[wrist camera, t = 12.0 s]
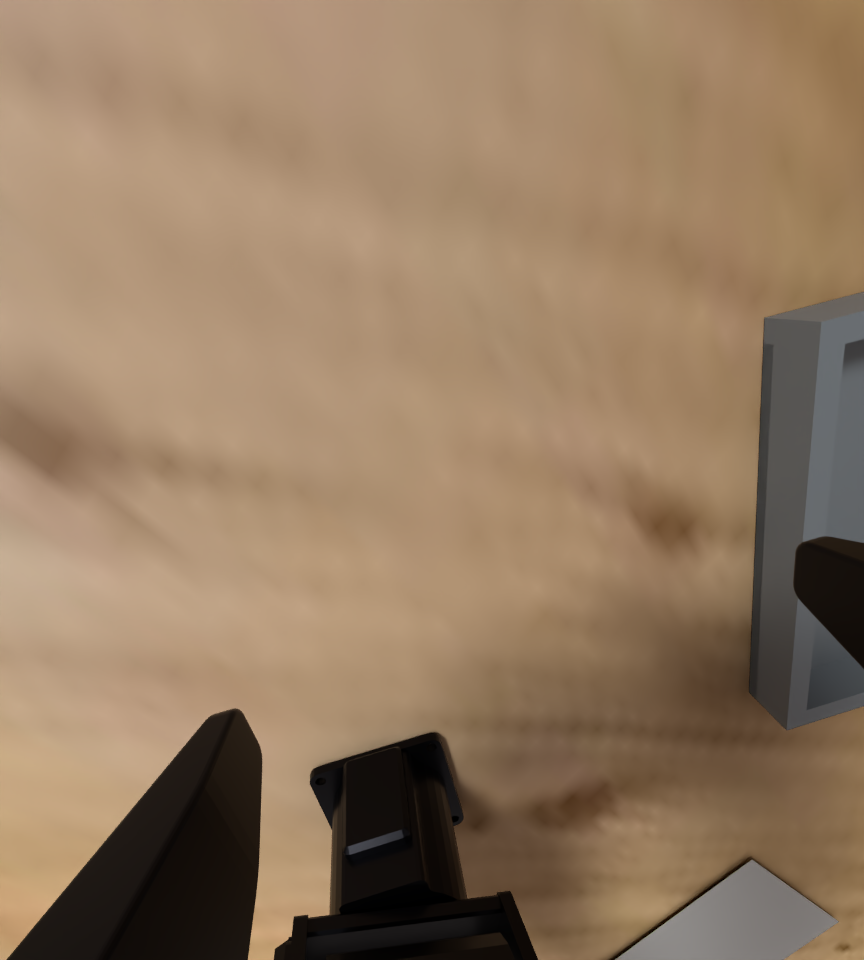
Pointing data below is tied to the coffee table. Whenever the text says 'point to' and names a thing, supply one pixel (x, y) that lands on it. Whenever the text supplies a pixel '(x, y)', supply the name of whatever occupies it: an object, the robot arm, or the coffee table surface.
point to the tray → (806, 503)
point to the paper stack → (737, 922)
